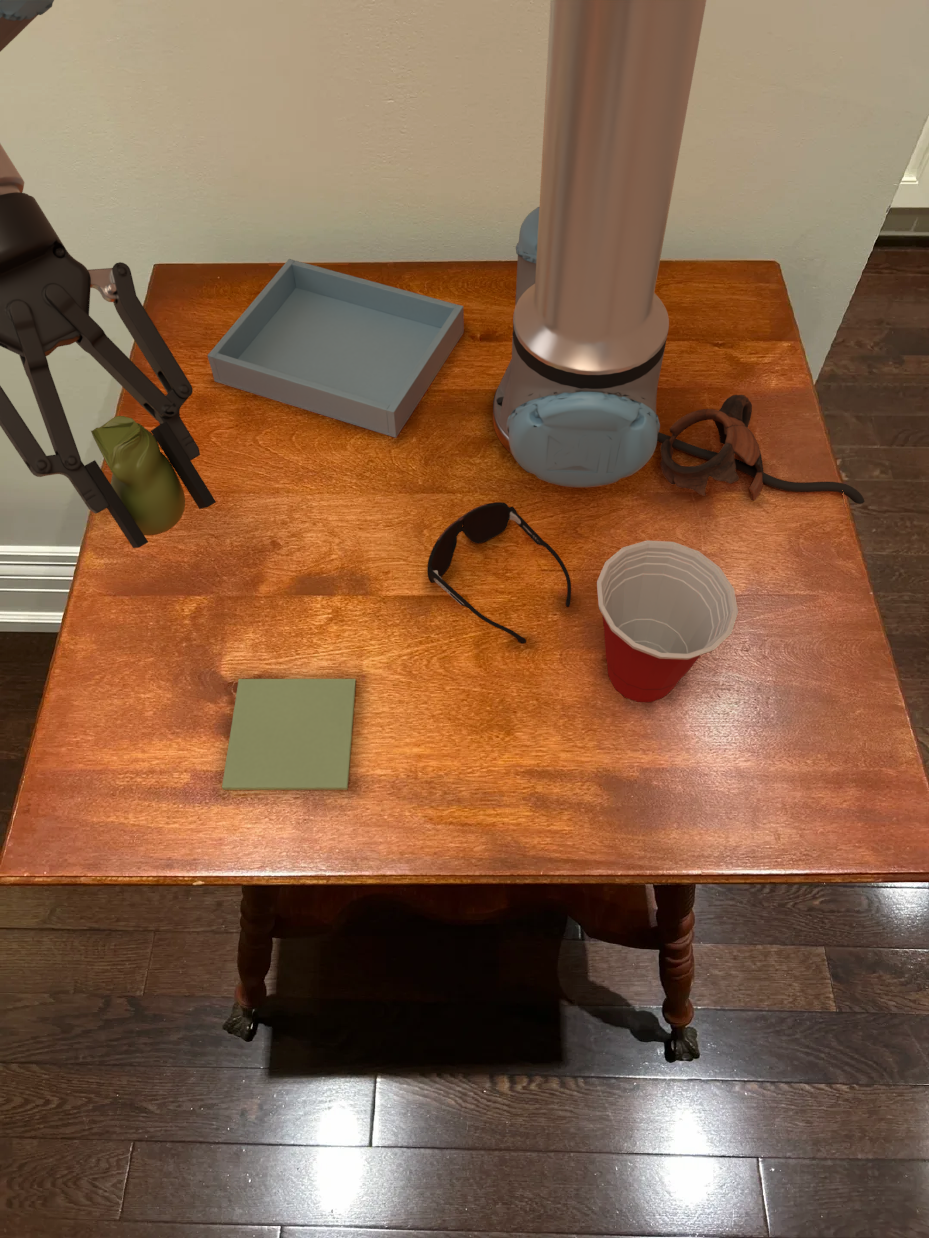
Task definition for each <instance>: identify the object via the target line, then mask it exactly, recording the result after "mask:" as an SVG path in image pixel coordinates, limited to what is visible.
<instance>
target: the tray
mask: <svg viewBox="0 0 929 1238" xmlns="http://www.w3.org/2000/svg"><path fill="white" fill-rule="evenodd" d="M464 308H465V307H464V305H461V304H456V303H453V302H450V301H446V300H442V299H439V298H434V297H431V296H428V295H424V294H420V293H417V292H413V291H409V290H406V289H402V288H398V287H394V286H391V285H387V284H385V283H379V282H376V281H372V280H369V279H365V278H362V277H357V276H355V275H350V274H348V273H347V274H346V273H343V272H339V271H336V270H332V269H329V268H326V267H325V268H324V267H321V266H318V265H314V264H310V263H306V262H303V261H299V260H294V259H291V258H289V259H287V261H286V262H285V263H284V264H283V265H282V266H281V268H279V270H278V271H277V273H275V274H274V275H273V277H272V278H271V279H270V280H269V282H268V283H267V284H266V285H265V286H264V288H263V289H262V290H261V291H260V293H259V294H258V295H257V296H256V297H255V298H254V300H253V301H252V302H251V303H250V304H249V305H248V307H247V308H246V309H245V310H244V312H242V314H241V315H240V316H239V317H238V319H237V320H236V321H235V322H234V323H233V325H231V327H230V328H229V329H228V331H227V332H226V333H225V334H224V335H223V336H222V337H221V339H219V341H218V342H217V343H216V344H215V346H214V347H213V348H212V349H211V350H210V351H209V352H208V354H207V359H208V363H209V366H210V367H209V368H210V369H211V373H212V376H213V381H214V382H215V383H218V384H221V385H225V386H227V387H231V388H234V389H237V390H240V391H244V392H247V393H249V394H250V393H251V394H252V395H256V396H259V397H263V398H266V399H270V400H273V401H276V402H279V403H283V404H285V405H289V406H292V407H294V408H295V407H296V408H299V409H301V410H305V411H308V412H311V413H314V414H318V415H320V416H324V417H327V418H331V419H334V420H336V421H340V422H344V423H347V424H349V425H353V426H356V427H359V428H363V429H366V430H369V431H371V432H372V431H373V432H375V433H379V434H383V435H386V436H389V437H392V438H395V439H397V438H398V436H399V434H400V433H401V431H402V430H403V428H404V427H405V425H406V423H407V422H408V420H409V419H410V417H411V416H412V414H413V413H414V411H415V410H416V408H417V406H418V405H419V404H420V402H421V400H422V398H423V397H424V395H425V394H426V392H427V391H428V389H429V388H430V386H431V384H432V383H433V382H434V380H435V378H436V377H437V375H438V374H439V372H440V370H441V369H442V368H443V366H444V364H445V363H446V361H447V359H448V358H449V357H450V355H451V353H452V352H453V350H454V349H455V347H456V345H457V344H458V342H459V341H460V339H461V338H462V336H463V335H464V333H465V326H464V325H465V321H464V320H465V319H464V316H465V315H464Z"/></svg>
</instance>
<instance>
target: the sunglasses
mask: <svg viewBox="0 0 929 1238" xmlns="http://www.w3.org/2000/svg"><path fill="white" fill-rule="evenodd" d="M509 521H514V522H515V523H516V525H518V526H519V528H520V529H521V530H522V531H524V533H525V534H526V535H527V536H528V537H529V538H530V539H531V540H532V542H534V543H535V544H536V545H537V546H540V547H543V548H545V549H546V550H547V551H548V552H549V553H550V554H551V555H552V556H553V558H554V559H555V560H556V561H557V563H558V565H559V566H560V568H561V570H562V572H563V574H564V577H565V580H566V588H567V591H566V598H565V606H566V607H567V608H570V606H571V601H572V600H571V599H572V582H571V581H572V580H571V577H570V574H569V572H568V569H567V567H566V565H565V563H564V562H563V560H562V558H561V557H560V556H559V554H558V553H557V552H556V551H555V549H553V547H551V545H550V544H549V543H548V542H546V541H544V540H543V538H541V536H540V535H539V534H538V533H537V532H536V531H535V530H534V529H533V528H532V526H531V525H529V524H528V522H526V520H524V518H523V517H521V515H520V514H519V513H518V511H517V509H516V508H515V507H514V506H513V505H512V506H509V505H508V504H507V503H506V502H502V501H496V502H489V503H485V504H481V505H479V506H476V507H474V508H472V509H470V510H469V511H467V512H466V513H464V514H463V515H462V516H461V515H460V517H458V518H457V519H456V520H455V521H453V522H452V523H451V524H450V525H449V526H447V527H446V528H445V529H444V531H443V532H442V533H441V534H440V535H439V537H438V538H437V540H436V541H435V543H434V545H433V547H432V549H431V551H430V554H429V557H428V561H427V568H426V574H427V577H428V578H427V579H428V581H429V582H430V583H431V584H434V583H435V584H437V585H438V586H439V587H440V588H441V589H442V590H443V591H444V592H445V593H447V594H448V595H449V596H450V597H451V598H452V599H453V600H455V601H456V602H457V603H458V604H459V605H460V606H462V607H465V608H467V609H468V610H469V611H471V613H473V614H474V615H475V616H477V617H478V618H479V619H481V620H482V621H484V622H485V623H487V624H489V625H491V626H492V627H494V628H497V629H499V630H501V631H504V632H505V633H507V634H509V635H511V636H512V637H513V638H514V639H516V640H517V642H518V643H520V644H526V643H527V639H526V638H525V637H523V636H521V635H520V634H519V633H517V632H516V631H514V630H513V629H510V628H508V627H506V626H504V625H502V624H500V623H497V622H495V621H493V620H491V619H490V618H488V617H487V616H485V615H483V614H482V613H481V612H480V611H479V610H477V609H476V608H475V607H474V606H473V605H471V603H470V602H469V601H467V600H466V599H465V597H463V596H461V594H460V593H459V592H457V591H456V590H455V589H454V588H453V587H452V586H451V585H449V583H447V582H446V581H445V580H444V579H443V578H442V577H443V575H444V574H445V573H446V572H447V571H448V569H449V568H450V566H451V564H452V561H453V558H454V553H455V551H456V547H457V545H458V539H457V538H458V535H459V534H460V533H463V534H464V535H465V537H467V539H469V541H471V542H472V543H474V544H483V543H486V542H488V541H490V540H491V539H494V538H495V537H497V536H500V535H501V534H502V533H504V532H505V531H506V529H507V528H508V526H509Z"/></svg>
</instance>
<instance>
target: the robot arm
mask: <svg viewBox="0 0 929 1238" xmlns="http://www.w3.org/2000/svg"><path fill="white" fill-rule="evenodd" d="M549 1H550V2H549V22H548V37H547V38H548V39H547V41H548V43H547V58H546V59H547V60H546V77H545V78H546V79H545V95H544V97H545V98H544V114H543V115H544V116H543V131H542V132H543V133H542V151H541V170H540V187H539V189H540V190H539V191H540V192H539V205H538V206H537V207H536V208H535V209H533V210H532V211H531V212H530V213H528V214H527V215H526V217H525V218H524V219H523V221H522V222H521V225H520V228H519V234H518V242H517V243H516V244H515V254H516V255H517V262H516V263H517V264H516V265H517V266H516V284H515V286H516V287H515V305H514V310H513V315H512V336H511V337H512V340H511V341H512V342H511V359H510V361H509V363H508V365H507V367H506V369H505V372H504V373H503V376H502V378H501V380H500V382H499V385H498V386H497V389H496V390H495V393H494V396H493V401H492V402H493V404H492V425H493V429H494V432H495V434H496V436H497V439H498V440H499V442H500V443H501V446H503V448H504V449H505V450H506V451H507V452H509V454H511V455H512V457H513V458H514V460H515V461H516V463H517V464H518V465H519V466H520V468H522V470H524V471H525V472H527V473H529V474H533V475H535V477H536V478H537V479H539V480H540V481H543V482H546V483H548V484H552V485H554V486H555V485H556V486H561V487H567V488H577V489H578V488H581V489H582V488H583V489H584V488H585V489H586V488H596V487H602V486H603V487H604V486H608V485H612V484H615V483H617V482H619V481H620V480H621V479H624V478H628V477H631V476H633V475H634V474H636V473H637V472H639V471H640V470H641V469H643V468H644V467H645V466H646V465H647V463H649V461H650V460H651V458H652V457H653V455H654V453H655V451H656V449H657V448H656V447H657V444H658V443H659V444H662V443H663V442H664V441H665V440H666V439H670V438H671V436H672V435H671V436H670V435H668V434H666V433H663V432H660V429H661V424H660V423H661V422H660V419H659V416H658V414H657V398H658V397H657V395H658V386H659V381H660V375H661V371H662V365H663V361H664V355H665V350H666V344H667V340H668V334H669V328H670V318H669V313H668V310H667V308H666V306H665V305H664V303H663V301H662V299H660V297H659V296H658V294H656V291H655V290H656V285H657V280H658V274H659V268H660V264H661V263H660V262H661V258H662V257H661V256H662V251H663V245H664V240H665V234H666V228H667V223H668V218H669V214H670V213H669V212H670V206H671V200H672V195H673V189H674V185H675V178H676V172H677V168H678V162H679V156H680V151H681V144H682V140H683V135H684V129H685V123H686V117H687V111H688V106H689V100H690V95H691V88H692V84H693V77H694V73H695V72H694V71H695V67H696V61H697V56H698V50H699V45H700V39H701V38H700V37H701V34H702V33H701V32H702V27H703V21H704V17H705V16H704V15H705V10H706V6H707V5H706V4H707V0H549ZM54 2H55V0H0V53H1V52H2V51H3V50H4V49H5V48H6V47H8V45H9V44H10V43H12V41H14V39H15V38H17V37H18V36H19V35H20V33H21V32H22V31H23V30H25V28H27V27H28V25H30V24H31V23H32V22H33V21H34V20H35V19H36V18H37V17H38V16H43V15H44V14H45V13H46V12H48V11H49V10H50V9H51V8H52V7H53V3H54ZM24 187H25V180H24V179H23V177H22V176H21V174H20V172H19V171H18V169H17V167H16V166H15V164H14V163H13V161H12V159H11V158H10V157H9V155H8V153H7V152H6V150H5V149H4V147H3V145H2V144H1V143H0V347H2V348H4V349H6V350H8V351H10V352H12V353H14V354H16V355H19V358H20V361H21V365H22V366H23V370H24V372H25V375H26V377H27V379H28V382H29V384H30V387H31V390H32V393H33V395H34V398H35V401H36V404H37V406H38V410H39V413H40V416H41V418H42V421H43V423H44V426H45V429H46V432H47V435H48V437H49V440H50V443H51V446H52V448H53V451H54V454H50V455H47V454H46V452H45V450H43V448H42V447H41V445H40V443H39V442H38V440H37V439H36V437H35V436H34V435H33V432H32V431H31V430H30V428H29V426H28V425H27V424H26V422H25V421H24V419H23V418H22V416H21V415H20V413H19V412H18V410H17V409H16V407H15V405H14V403H13V402H12V401H11V399H10V398H9V397H8V395H7V394H6V391H5V390H4V389H3V388H2V387H3V386H1V385H0V428H1V430H2V431H3V433H4V435H6V437H7V438H8V440H9V441H10V443H11V444H12V446H13V447H14V449H15V450H16V453H18V455H19V456H20V458H21V459H22V461H23V462H24V464H25V466H27V469H28V470H29V471H30V473H31V474H32V475H33V476H35V477H38V478H42V477H47V476H54V475H62V476H64V477H66V478H67V479H68V480H69V482H70V483H71V485H72V486H73V488H74V489H75V490H76V493H78V495H79V496H80V498H81V500H82V501H83V502H84V504H85V506H86V507H87V509H88V510H89V511H91V512H92V513H93V514H96V515H97V514H99V513H101V512H102V511H104V510H106V509H107V511H108V512H109V514H110V515H111V517H112V518H113V520H114V521H115V523H116V524H117V526H118V528H119V529H120V530H121V532H122V534H123V535H124V536H125V538H126V539H127V541H128V543H129V544H130V546H131V547H132V549H138V548H139V549H140V548H141V547H143V546H144V545H146V544H148V543H149V541H148V539H147V537H146V536H145V535H143V533H142V531H141V530H140V528H139V527H138V525H137V524H136V522H135V521H134V519H133V518H132V516H131V515H130V513H129V512H128V510H127V508H126V507H125V505H124V504H123V502H122V501H121V499H120V498H119V496H118V495H117V493H116V492H115V490H114V489H113V487H112V485H111V481H109V479H108V478H107V476H106V475H105V473H104V472H103V470H102V468H101V466H99V464H98V463H97V460H95V459H94V460H93V461H90V462H89V463H87V464H84V463H83V461H82V459H81V456H80V455H81V454H80V452H79V450H78V447H77V444H76V441H75V438H74V435H73V432H72V429H71V426H70V424H69V421H68V418H67V415H66V413H65V410H64V407H63V404H62V401H61V397H60V395H59V392H58V389H57V386H56V384H55V381H54V378H53V376H52V372H51V370H50V366H49V362H48V359H47V357H48V356H50V355H51V354H52V353H53V352H54V351H56V349H57V348H59V347H65V346H70V345H73V344H75V343H76V344H77V345H78V346H79V347H80V348H81V349H82V350H83V351H84V352H86V353H88V354H89V356H91V357H92V358H93V359H94V360H95V361H96V362H97V363H98V364H99V365H100V366H101V367H102V368H103V369H104V370H106V372H108V374H109V375H110V376H111V377H112V378H113V379H114V380H115V381H116V382H117V384H119V385H120V386H121V387H122V388H123V389H124V390H125V391H126V392H127V393H128V394H129V395H130V396H131V397H132V398H133V399H134V400H135V401H136V402H137V403H138V404H139V405H140V406H141V407H142V408H143V409H144V410H145V411H146V412H147V413H148V414H149V415H150V416H151V417H152V418H153V419H154V420H156V421H157V422H158V424H159V425H156V426H155V427H154V428H153V429H152V430H150V433H151V434H152V435H153V436H154V437H155V439H156V440H157V443H158V445H159V448H160V450H161V451H162V453H163V454H164V455H165V456H166V458H167V459H168V460H169V462H170V463H171V465H172V466H173V468H174V470H175V472H176V474H177V476H178V478H179V480H181V482H182V484H183V485H184V487H185V488H186V490H187V492H188V493H189V495H190V496H191V498H192V500H193V501H194V503H195V504H196V506H197V507H198V509H199V510H203V509H207V508H209V507H211V506H212V505H214V504H216V503H217V501H216V499H215V498H214V496H213V494H212V493H211V491H210V490H209V488H208V486H207V485H206V483H205V482H204V480H203V478H202V476H201V474H200V473H199V472H198V469H196V467H195V465H194V463H193V462H192V460H195V459H197V458H199V456H201V451H200V447H199V446H198V444H197V442H196V441H195V439H194V438H193V436H192V434H191V432H190V431H189V430H188V428H187V426H186V425H185V423H184V421H183V420H182V418H181V414H180V410H181V408H182V406H183V405H184V404H185V402H186V401H187V400H188V399H189V398H190V397H191V396H192V395H193V392H194V389H193V386H192V383H191V382H190V381H189V379H188V377H187V376H186V374H185V373H184V371H183V369H182V367H181V366H180V364H179V363H178V361H177V359H176V358H175V355H173V352H172V351H171V350H170V348H169V346H168V345H167V343H166V341H165V340H164V338H163V336H162V334H161V333H160V331H159V330H158V329H157V327H156V325H155V323H154V321H153V320H152V318H151V317H150V315H149V314H148V312H147V311H146V309H145V307H144V306H143V304H142V302H141V300H140V299H139V297H138V295H137V292H136V288H135V284H134V280H133V275H132V270H131V268H130V267H129V266H128V265H127V264H126V263H124V262H121V261H119V262H115V264H114V265H113V266H112V267H106V268H92V269H88V268H87V267H86V266H85V265H84V264H83V263H82V262H80V261H78V260H77V259H76V258H74V257H73V255H71V254H70V252H68V250H67V249H66V247H65V245H64V243H63V242H62V240H61V239H60V237H59V235H58V234H57V232H56V231H55V229H54V227H53V226H52V224H51V223H50V221H49V219H48V217H47V216H46V214H45V212H44V211H43V209H42V208H41V206H40V205H39V203H38V202H37V200H36V198H35V197H34V196H32V195H29V194H28V193H26V192H24ZM91 289H95V290H97V291H98V292H99V293H100V296H101V297H102V298H103V300H105V301H106V302H108V303H113V306H114V308H115V310H116V313H117V314H118V316H119V318H120V319H121V321H122V323H123V324H124V326H125V328H126V329H127V331H128V333H129V335H131V337H132V339H133V341H134V342H135V343H136V345H137V347H138V348H139V350H140V352H141V354H142V355H143V356H144V359H145V360H146V361H147V363H148V365H149V367H150V368H151V369H152V371H153V372H154V375H155V376H156V377H157V379H158V381H159V382H160V384H161V385H162V387H163V389H164V390H165V392H166V394H165V393H164V392H163V391H162V390H161V389H159V387H158V386H157V385H156V384H155V383H154V382H153V381H152V380H151V379H150V378H149V377H148V376H147V375H146V373H144V372H143V371H142V370H141V368H139V367H138V365H136V364H135V363H134V362H133V360H131V359H130V358H129V357H128V356H127V355H126V354H125V353H124V352H123V351H122V350H121V349H120V348H119V347H118V346H117V344H115V343H114V342H113V340H112V339H111V338H109V336H107V334H106V333H105V331H104V330H103V328H102V327H101V326H100V325H99V324H98V322H96V321H95V320H94V319H93V318H92V316H91V315H90V306H91V305H90V303H91ZM672 447H673V449H675V450H677V451H680V452H683V453H685V454H688V455H691V456H694V457H697V458H700V459H703V460H707V461H709V460H710V459H712V458H713V457H714V456H715V455H717V454H718V453H719V452H718V451H717V452H716V451H713V450H710V449H706V448H703V447H699V446H697V445H694V444H691V443H688V442H686V441H683V440H680V439H678V438H676V439H675V440H674V442H673V444H672ZM734 458H735V457H734ZM735 464H736V471H740V472H741V473H743V474H746V475H747V476H748V477H750V478H752V479H754V478H755V476H756V474H757V470H756V468H755V467H753V466H750V465H748V464H746V463H745V462H744V460H740V459H738V458H735ZM763 485H766V486H769V487H771V488H774V489H777V490H781V491H785V492H791V493H818V492H834V493H839V494H842V495H844V496H847V498H849V499H850V500H851V501H852V502H853V503H856V504H859V505H861V504H864V503H865V502H866V501H865V498H864V497H863V495H862V494H861V492H860V491H858V490H857V489H856V488H855V487H853V486H851V485H849V484H847V483H844V482H839V481H810V482H809V481H807V482H806V481H804V482H801V481H800V482H799V481H798V482H797V481H789V480H783V479H780V478H778V477H775V476H772V475H770V474H768V473H767V472H764V471H763ZM842 490H843V491H842ZM843 492H844V494H843Z"/></svg>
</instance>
